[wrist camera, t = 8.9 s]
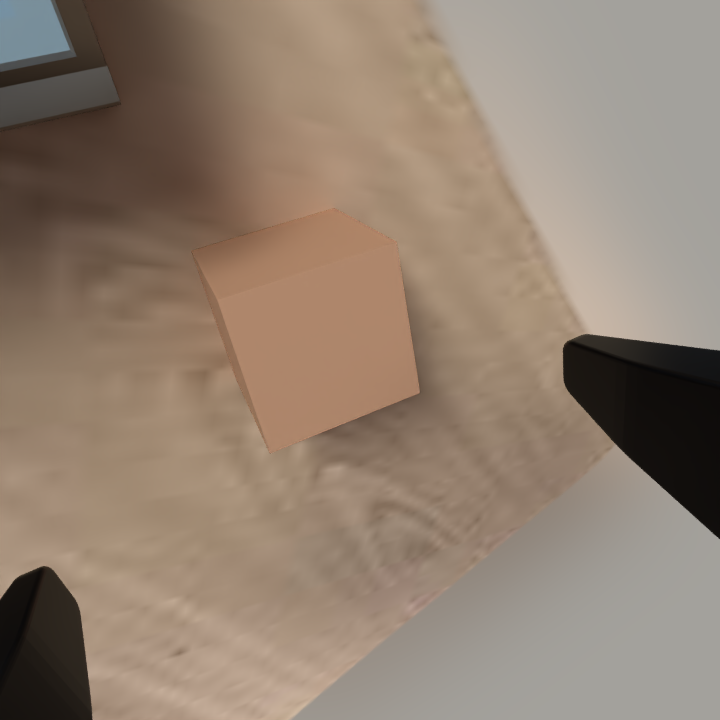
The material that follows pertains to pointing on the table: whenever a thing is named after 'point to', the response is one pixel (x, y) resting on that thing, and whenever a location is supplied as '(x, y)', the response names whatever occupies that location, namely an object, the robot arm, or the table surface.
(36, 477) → the table surface
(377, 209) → the table surface
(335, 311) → the block
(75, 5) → the track
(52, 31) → the cart
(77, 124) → the table surface
